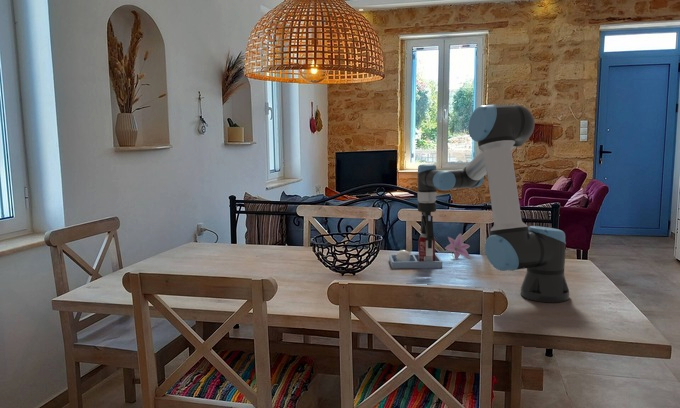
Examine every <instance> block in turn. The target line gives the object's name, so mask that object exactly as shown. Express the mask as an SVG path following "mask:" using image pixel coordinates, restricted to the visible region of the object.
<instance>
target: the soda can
mask: <svg viewBox="0 0 680 408" xmlns="http://www.w3.org/2000/svg"><path fill="white" fill-rule="evenodd" d="M425 238H426V234H423V235H421V234H420V235H419V239H418V254H419V261H435V254H436V239H435V238H434V240H433V256H426V241H425Z"/></svg>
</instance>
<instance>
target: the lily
mask: <svg viewBox="0 0 680 408" xmlns="http://www.w3.org/2000/svg"><path fill="white" fill-rule="evenodd" d="M447 239H448V241H449V243H450V244H447V245H446V247H444V249H445V250H446V251H449V252H452V254H451V256H453V255H454V260H458V259H459V257H460V256H463V257H465V258H467V259H471V257H470V254H469V251H468V250H467V249H469V248H470V247H471V246H470V245H469V244H467V243H464V238H463V234H462V233H458V235H457V236H456V238H455V239H454V238H453V237H451V236H447Z"/></svg>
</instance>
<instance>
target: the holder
mask: <svg viewBox="0 0 680 408" xmlns="http://www.w3.org/2000/svg"><path fill="white" fill-rule="evenodd" d="M396 255H397V254H389V256H388V259H389V263H390V266H391V269H441V268H443V260H442V259H441V258H440V256H439V254H437V253H435V261H419V253H418V254H417V253H415V254H410V257H411V258H410V261H409V262H398V261H397V259H396Z"/></svg>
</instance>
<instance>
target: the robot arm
mask: <svg viewBox="0 0 680 408" xmlns="http://www.w3.org/2000/svg"><path fill="white" fill-rule="evenodd" d="M535 124H536V123H535V118H534V115H533V114H532V112H531V111H530V110H529V109H528V108H527V107H526V106H523V105H521V104H492V103H490V104H486V105H485V104H484V105H483V104H482V105H480V106H478V107H476V108H475V109H474V110H473V112H472V113H471V116H470V118H469V120H468V125H467V126H468V136H469V137H470V138H471V140H472V141H474V142H477V144H478V146H477V147H478V150H480V152H479V153H478V154H477V155H476V156H475V157H474V158H473V159H472V160H471V161H470V162H469V163H468V164H467V165H466V166H465V167H464V168H461V169H443V170H442V169H441V170H437V165H436V164H432V163H431V164H429V163H428V164H425V163H424V164H419V165H418V167H417V201H418V202H417V211H418V212H420V214H421V222H420V235H423V234H426V238H425V241H426V256H433V240H434V239H435V237H434V236H435V235H434V223H433V218H434V216H433V215H432V213H435V212H436V211H437V202H436V201H437V197H438V193H437V190H440V191H450V190H454V189H455V190H457V189H474V188H479V187H481V186H482V185H483V182H484V180H485V176H487V181H488V182H487V183H488V184H487V185H488V190H489V197H490V203H491V204H490V205H491V211H492V217H493V226H492V227H491V228H490V235H489V236H488V237H487V238H486V240H485V243H484V252H485V255H486V258H487V261H488V262H489V263H490V264H491V265H492V267H494V269H496V270H498V271H500V272H506V271H508V272H511V271H512V272H514V271H516V270H517V271H518V270H524V269H526V273H525V276H524V277H523V281H522V282H521V283H522V284H521V286H520V296H521V297H522V298H525V299H527V300H529V301H530V300H531V301H535V302H539V303H540V302H542V303H563V302H566V301H568V300H569V299H570V289H569V286H568V283H567V279H566V276H565V263H566V246H567V242H566V233H565V231H563V230H561V229H558V228H554V227H547V226H538V225H530V226H528V225H527V224H526V223H525V222H524V221H523V219H522V213H521V206H520V200H519V193H518V186H517V185H518V184H517V179H516V173H515V172H516V171H515V165H514V160H513V159H514V158H513V153H512V152H513V150H514V149H516V148H520V147H521V146H523V145H524V144H525V143H527V142H528V140H529V139H530V138H531V136H532V134H533V132H534V130H535Z"/></svg>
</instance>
